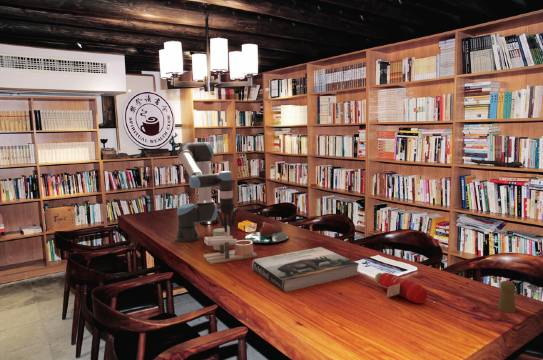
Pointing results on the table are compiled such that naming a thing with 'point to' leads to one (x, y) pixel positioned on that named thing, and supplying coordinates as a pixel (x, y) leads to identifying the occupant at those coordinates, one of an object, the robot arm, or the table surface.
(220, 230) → the can
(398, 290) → the red elongated piece
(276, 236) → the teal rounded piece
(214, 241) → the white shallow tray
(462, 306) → the table surface
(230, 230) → the robot arm
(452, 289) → the table surface
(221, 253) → the stand
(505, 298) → the green chess rook
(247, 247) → the cup
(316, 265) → the book
